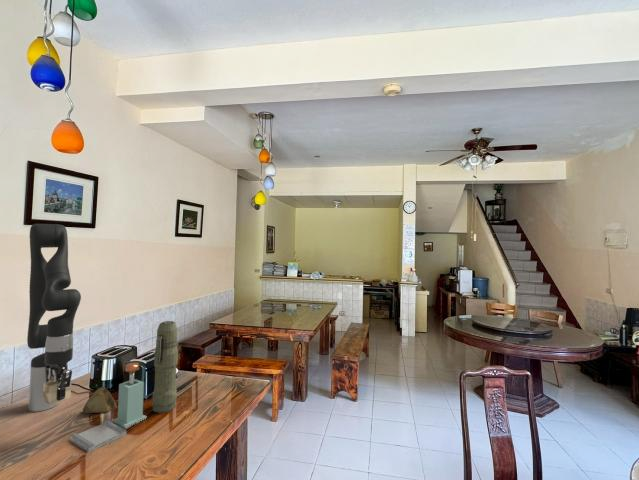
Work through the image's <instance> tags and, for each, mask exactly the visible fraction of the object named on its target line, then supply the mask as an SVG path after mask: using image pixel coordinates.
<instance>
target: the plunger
mask: <svg viewBox="0 0 639 480" xmlns="http://www.w3.org/2000/svg"><path fill="white" fill-rule="evenodd" d="M139 370H140V363H138V362H129V363H126V365H125V372H126V373H129V380H128V381H129V386H131V385H134V379H135V372H137V371H139Z"/></svg>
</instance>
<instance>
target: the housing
mask: <svg viewBox="0 0 639 480" xmlns="http://www.w3.org/2000/svg"><path fill="white" fill-rule="evenodd" d="M60 379H61V378H59V379H58V380H60ZM71 391H72V381H71V382H70V386H69V387H66V390H65V398H64V399H62V400H59V401H58V400H57V383H55V382H54V380H53V381H49V382H46V383H44V384H43V401H44V402H45V403H47V404H49V405H50V404H53V403H56V402H58V403H59V402H62V401H65V400H68V399H71V393H72V392H71Z"/></svg>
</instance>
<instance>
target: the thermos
mask: <svg viewBox="0 0 639 480" xmlns="http://www.w3.org/2000/svg"><path fill="white" fill-rule="evenodd" d="M153 357H154V363H153V367H154V390H153V392H152V399H151V400H152V402H151V403H152V412H153V411H154V413H155V412H157V413H156V414H163V413H169V412H172V411H174V409H176V407H177V402H176V401H177V397H178V396H177V395H178V393H177V392H178V391H177V387H176V386H177V384H176V382H177V381H176V379H177V365H178V361H179V349H178V326H177V323H176V321H172V320H169V321H168V320H167V321H162V322H159V324H158V327H157V330H156V341H155V352H154V356H153Z"/></svg>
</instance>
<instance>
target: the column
mask: <svg viewBox="0 0 639 480" xmlns="http://www.w3.org/2000/svg"><path fill="white" fill-rule="evenodd" d="M144 390H145V382H144V381H142V380H139V379H136V378H134V385H131V386H129V380H127V381H124V382H122V383H119V384H118V399H117V400H118V403H117V404H118V405H117V417H116V418H114V419H113V420H112V423H114V424H116V425H118V426H120V427H122V428H124V429H127V428H130V427H132V426H133V424H134V425H136V424H139V423H140V421H141V422H143V421H145V420H147V419H146V418H147V415H145V414H143V413H144V393H145V391H144ZM144 419H145V420H144ZM142 420H143V421H142ZM135 423H136V424H135ZM131 425H132V426H131Z"/></svg>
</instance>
